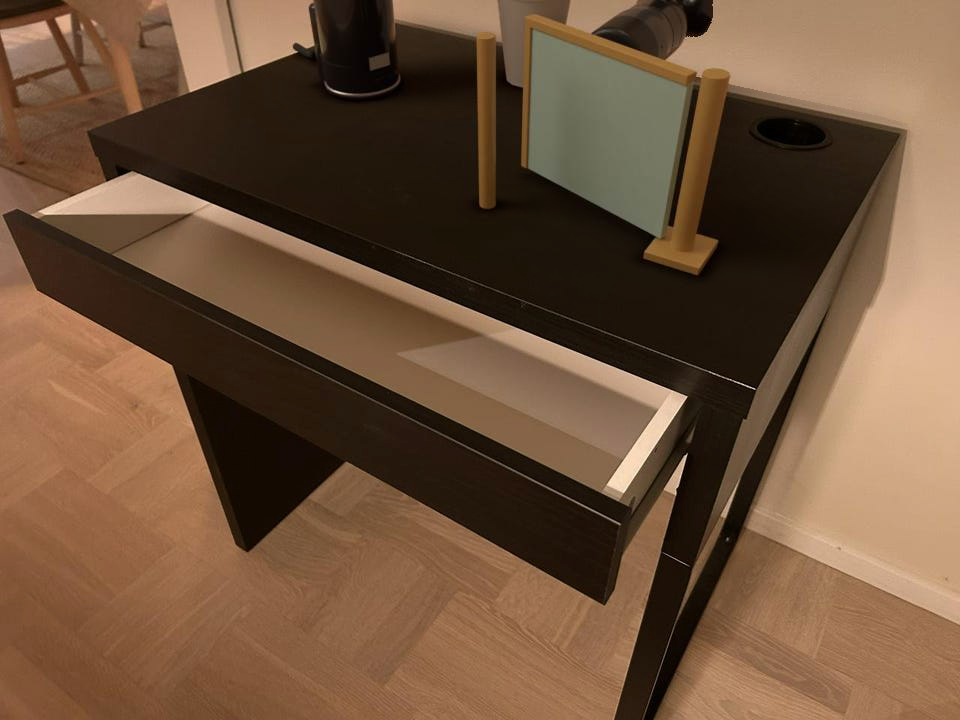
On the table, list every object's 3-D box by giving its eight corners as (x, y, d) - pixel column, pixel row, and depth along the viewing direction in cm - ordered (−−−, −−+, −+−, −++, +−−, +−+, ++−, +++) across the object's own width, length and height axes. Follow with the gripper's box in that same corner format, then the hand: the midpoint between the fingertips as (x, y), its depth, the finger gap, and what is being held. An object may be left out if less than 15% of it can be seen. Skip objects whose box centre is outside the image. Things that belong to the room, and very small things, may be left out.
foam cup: (532, 58, 100) (536, -50, 91) (583, 78, 95) (592, -34, 86) (478, 77, 96) (477, -34, 87) (528, 99, 90) (532, -16, 82)
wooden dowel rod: (498, 203, 73) (499, 34, 62) (490, 210, 72) (489, 40, 61) (484, 198, 73) (482, 30, 63) (476, 206, 72) (472, 36, 62)
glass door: (667, 234, 66) (697, 71, 57) (658, 239, 66) (687, 75, 56) (529, 162, 77) (534, 13, 67) (520, 166, 76) (524, 16, 66)
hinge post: (717, 247, 67) (759, 68, 56) (697, 276, 64) (739, 92, 53) (664, 231, 69) (695, 56, 58) (642, 259, 66) (672, 78, 55)
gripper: (574, 5, 81) (492, 57, 71) (691, 25, 76) (621, 85, 65) (570, 73, 87) (493, 132, 76) (679, 97, 81) (613, 163, 71)
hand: (553, 110), depth 71 cm, fingers closed
